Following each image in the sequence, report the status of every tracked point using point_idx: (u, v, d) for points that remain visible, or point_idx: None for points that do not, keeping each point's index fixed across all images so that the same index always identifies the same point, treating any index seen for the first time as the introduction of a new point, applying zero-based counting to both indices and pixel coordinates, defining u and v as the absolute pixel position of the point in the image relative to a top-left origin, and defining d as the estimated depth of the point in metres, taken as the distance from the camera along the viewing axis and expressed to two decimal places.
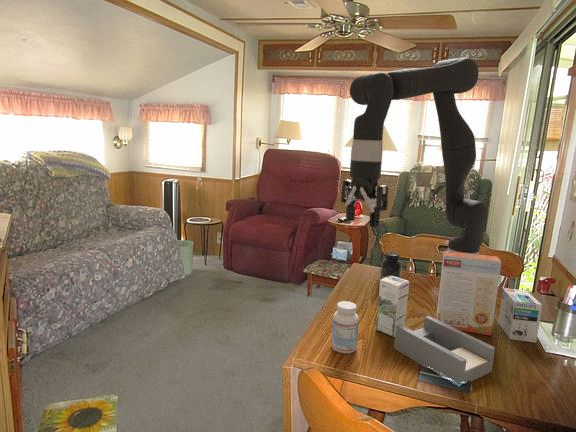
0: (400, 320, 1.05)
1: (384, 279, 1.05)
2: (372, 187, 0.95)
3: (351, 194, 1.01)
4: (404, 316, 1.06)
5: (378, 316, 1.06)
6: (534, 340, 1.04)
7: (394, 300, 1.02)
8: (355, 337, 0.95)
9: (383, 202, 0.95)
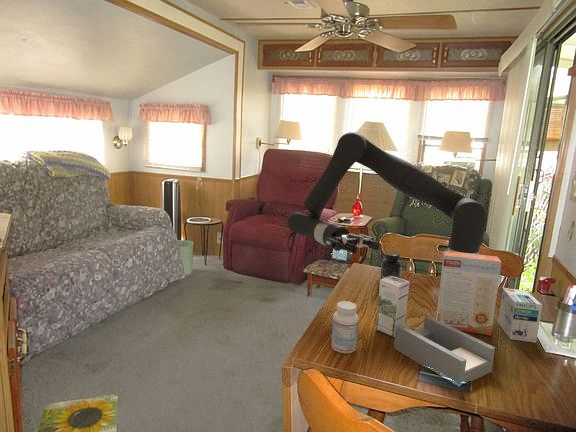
0: (400, 320, 1.05)
1: (384, 279, 1.05)
2: None
3: None
4: (404, 316, 1.06)
5: (378, 316, 1.06)
6: (534, 340, 1.04)
7: (394, 300, 1.02)
8: (355, 337, 0.95)
9: None
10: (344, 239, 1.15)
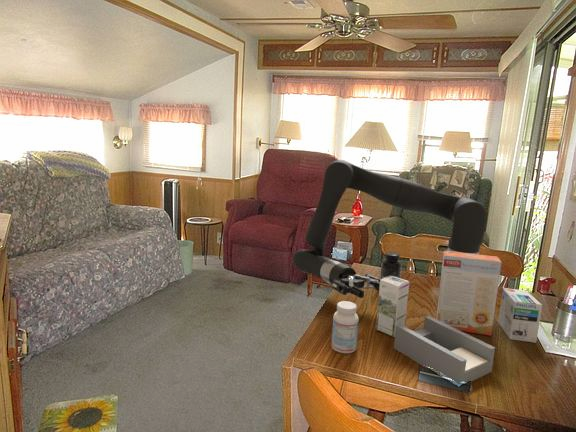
0: (400, 320, 1.05)
1: (384, 279, 1.05)
2: None
3: None
4: (404, 316, 1.06)
5: (378, 316, 1.06)
6: (534, 340, 1.04)
7: (394, 300, 1.02)
8: (355, 337, 0.95)
9: None
10: (351, 282, 1.14)
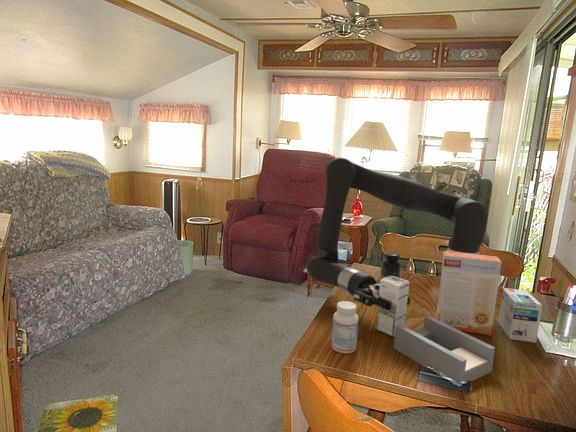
0: (400, 320, 1.05)
1: (384, 279, 1.05)
2: None
3: None
4: (404, 316, 1.06)
5: (378, 316, 1.06)
6: (534, 340, 1.04)
7: (394, 300, 1.02)
8: (355, 337, 0.95)
9: None
10: (375, 292, 1.07)
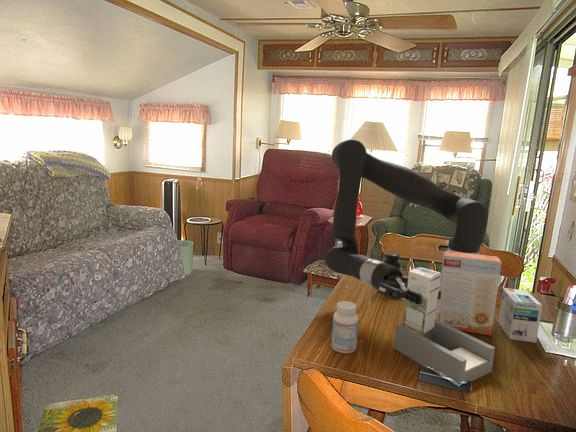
0: (431, 315, 0.96)
1: (413, 270, 0.96)
2: None
3: None
4: (434, 311, 0.97)
5: (406, 311, 0.98)
6: (534, 340, 1.04)
7: (425, 293, 0.93)
8: (355, 337, 0.95)
9: None
10: (402, 285, 0.98)
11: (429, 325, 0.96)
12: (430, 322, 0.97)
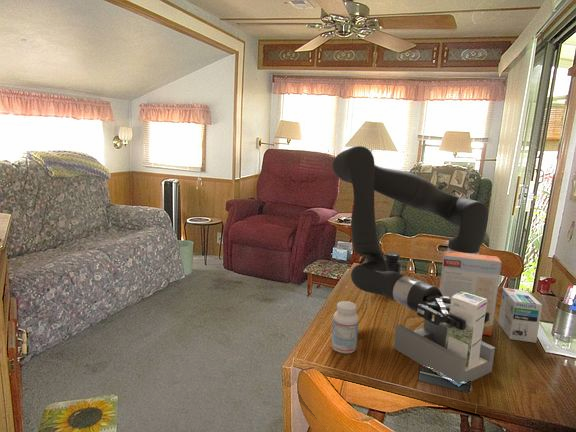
0: (476, 346, 0.86)
1: (456, 296, 0.87)
2: None
3: None
4: (480, 341, 0.87)
5: (448, 340, 0.88)
6: (534, 340, 1.04)
7: (471, 322, 0.84)
8: (355, 337, 0.95)
9: None
10: (443, 308, 0.88)
11: (474, 357, 0.86)
12: (475, 353, 0.87)
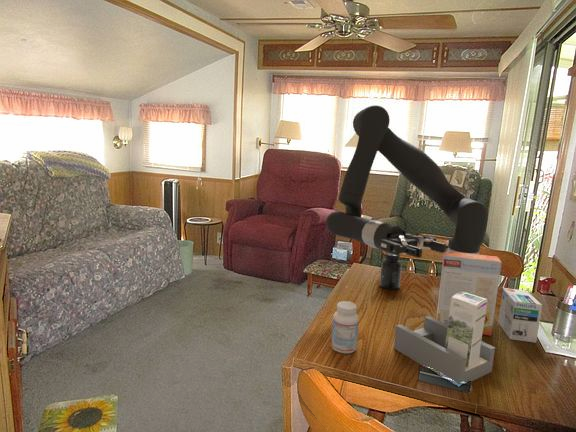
0: (476, 346, 0.86)
1: (456, 296, 0.87)
2: None
3: None
4: (480, 341, 0.87)
5: (448, 340, 0.88)
6: (534, 340, 1.04)
7: (471, 322, 0.84)
8: (355, 337, 0.95)
9: None
10: (403, 241, 0.97)
11: (474, 357, 0.86)
12: (475, 353, 0.87)
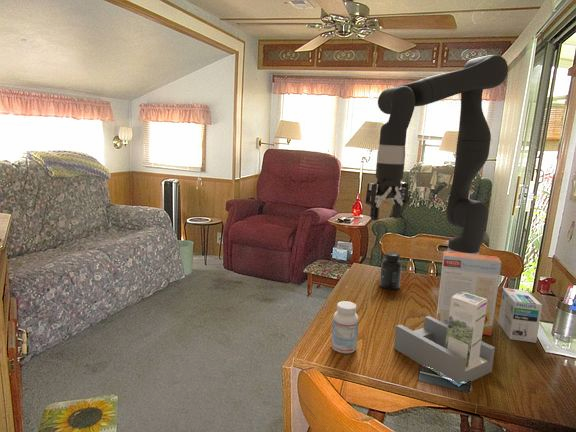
0: (476, 346, 0.86)
1: (456, 296, 0.87)
2: None
3: None
4: (480, 341, 0.87)
5: (448, 340, 0.88)
6: (534, 340, 1.04)
7: (471, 322, 0.84)
8: (355, 337, 0.95)
9: None
10: (381, 199, 1.10)
11: (474, 357, 0.86)
12: (475, 353, 0.87)
